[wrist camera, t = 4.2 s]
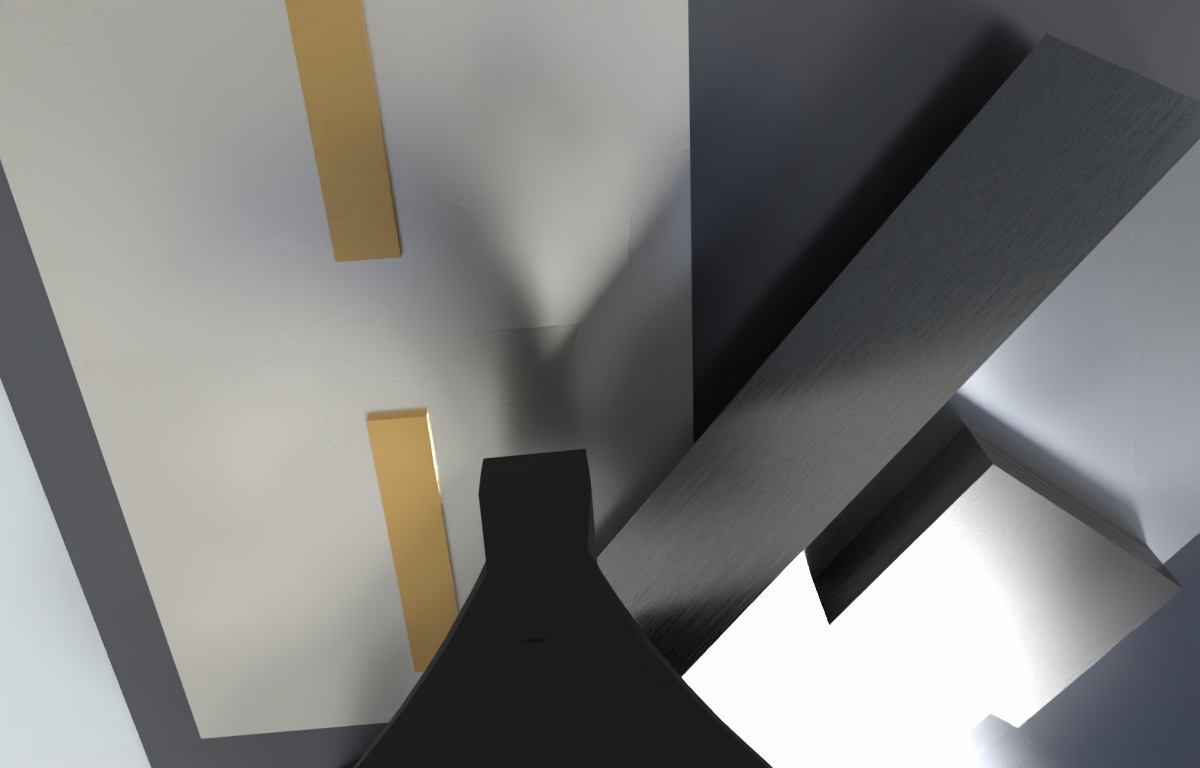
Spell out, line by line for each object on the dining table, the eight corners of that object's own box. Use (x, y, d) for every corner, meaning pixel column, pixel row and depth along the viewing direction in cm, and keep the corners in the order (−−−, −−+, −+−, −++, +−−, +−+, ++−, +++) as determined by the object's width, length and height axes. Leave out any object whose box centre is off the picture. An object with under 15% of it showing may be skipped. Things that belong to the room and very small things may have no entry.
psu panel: (1355, 801, 19) (1405, 860, 18) (233, 903, 18) (215, 971, 17) (1886, -379, 10) (2043, -401, 9) (-190, -254, 10) (-279, -262, 9)
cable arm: (479, 971, 17) (468, 1233, 14) (279, 902, 16) (219, 1171, 13) (1250, 212, 11) (1530, 368, 8) (1025, 16, 10) (1249, 109, 7)
